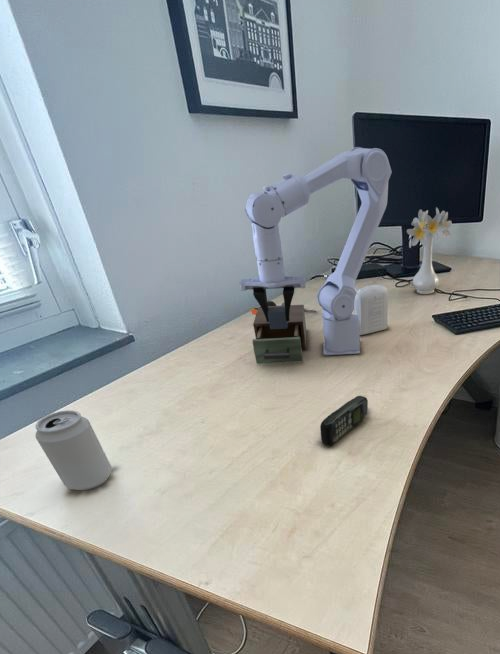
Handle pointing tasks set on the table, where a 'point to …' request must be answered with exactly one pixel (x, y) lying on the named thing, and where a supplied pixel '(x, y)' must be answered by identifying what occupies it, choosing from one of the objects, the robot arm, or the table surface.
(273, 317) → the block
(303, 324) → the cabinet
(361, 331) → the white rounded slab
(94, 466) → the can
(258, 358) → the drawer
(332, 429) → the mobile phone
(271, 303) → the headphones
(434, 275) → the flower vase
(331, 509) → the table surface
